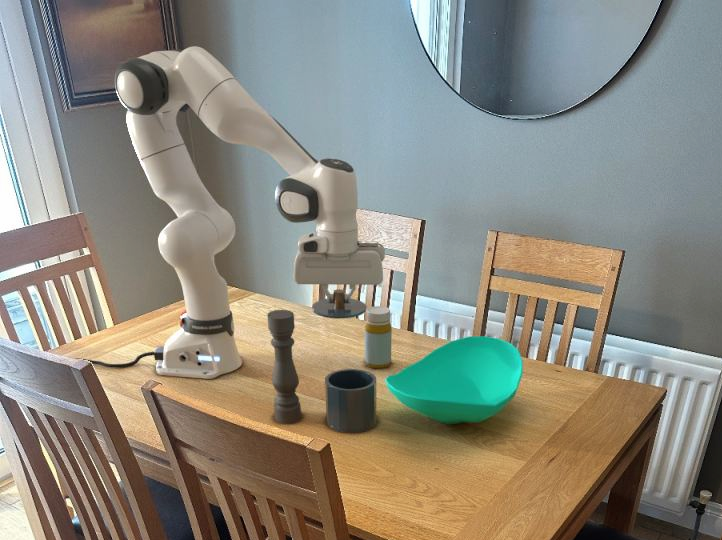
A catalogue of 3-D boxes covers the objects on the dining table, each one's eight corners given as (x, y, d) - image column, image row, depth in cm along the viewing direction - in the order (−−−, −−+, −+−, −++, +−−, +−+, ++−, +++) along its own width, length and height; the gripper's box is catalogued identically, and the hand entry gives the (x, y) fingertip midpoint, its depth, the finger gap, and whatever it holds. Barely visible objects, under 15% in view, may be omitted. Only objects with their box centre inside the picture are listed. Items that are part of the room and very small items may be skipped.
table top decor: (447, 374, 193) (450, 325, 186) (542, 402, 180) (550, 351, 172) (355, 431, 167) (354, 377, 159) (458, 469, 154) (463, 413, 146)
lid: (310, 321, 165) (309, 300, 162) (313, 302, 175) (312, 282, 172) (366, 321, 165) (366, 300, 162) (366, 302, 175) (366, 282, 173)
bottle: (392, 359, 201) (392, 306, 192) (389, 369, 195) (390, 315, 187) (367, 358, 202) (366, 305, 193) (363, 368, 196) (363, 314, 187)
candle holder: (305, 413, 174) (299, 311, 160) (294, 425, 169) (287, 320, 155) (281, 409, 176) (273, 307, 161) (270, 421, 171) (261, 317, 156)
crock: (325, 433, 166) (324, 390, 160) (327, 409, 176) (326, 368, 170) (376, 432, 167) (376, 390, 160) (375, 409, 176) (375, 368, 170)
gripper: (384, 237, 164) (383, 298, 172) (293, 236, 163) (296, 297, 171) (385, 245, 159) (384, 307, 167) (291, 244, 158) (294, 307, 166)
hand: (339, 302), depth 169 cm, fingers closed on lid, 2 cm apart
